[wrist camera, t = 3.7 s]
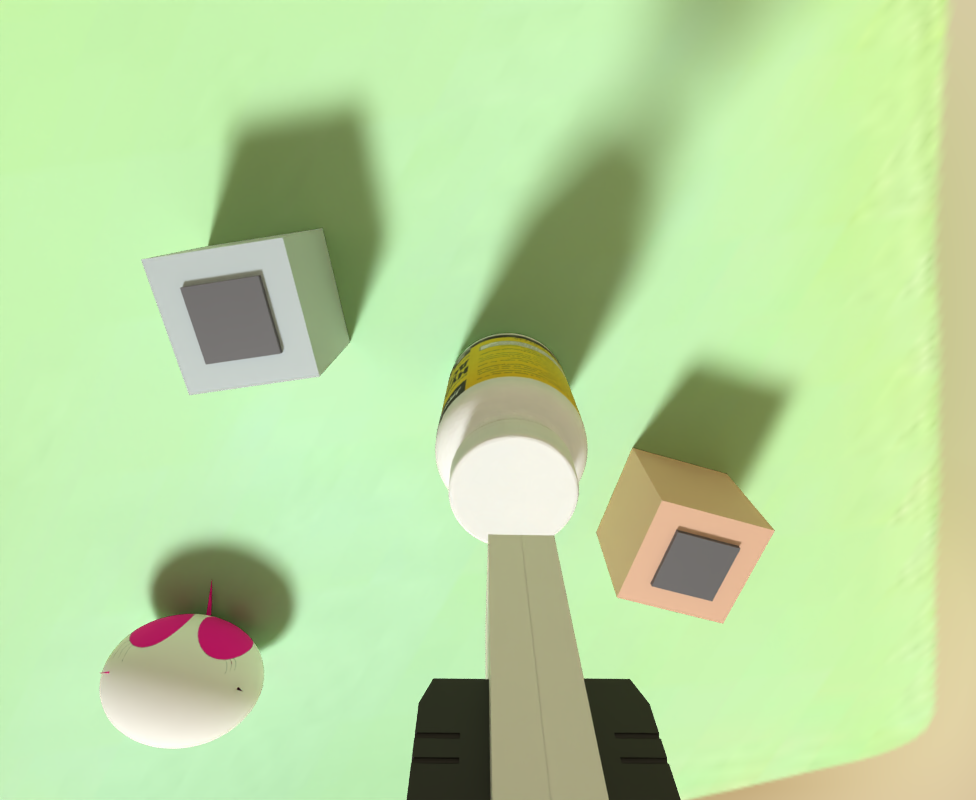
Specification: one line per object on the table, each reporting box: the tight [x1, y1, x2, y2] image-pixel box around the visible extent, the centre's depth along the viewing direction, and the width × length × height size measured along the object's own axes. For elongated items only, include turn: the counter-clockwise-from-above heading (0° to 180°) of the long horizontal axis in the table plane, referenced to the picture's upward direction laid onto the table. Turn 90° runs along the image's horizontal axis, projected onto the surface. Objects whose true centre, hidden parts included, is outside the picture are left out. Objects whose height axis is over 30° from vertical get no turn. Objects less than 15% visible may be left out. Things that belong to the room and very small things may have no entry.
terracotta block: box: [596, 448, 775, 623], centre depth 26 cm, size 5×5×5 cm
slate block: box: [141, 228, 350, 395], centre depth 22 cm, size 5×5×5 cm
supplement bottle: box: [435, 333, 588, 543], centre depth 22 cm, size 5×5×10 cm
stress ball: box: [100, 582, 264, 749], centre depth 29 cm, size 8×8×7 cm
